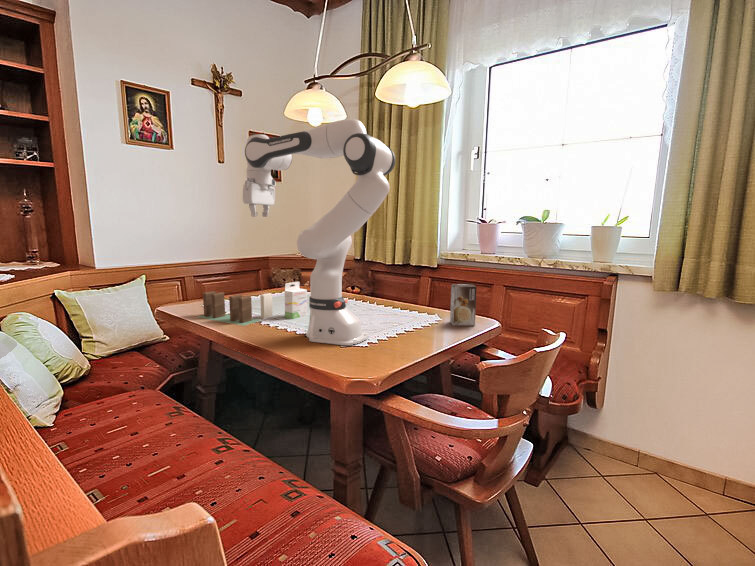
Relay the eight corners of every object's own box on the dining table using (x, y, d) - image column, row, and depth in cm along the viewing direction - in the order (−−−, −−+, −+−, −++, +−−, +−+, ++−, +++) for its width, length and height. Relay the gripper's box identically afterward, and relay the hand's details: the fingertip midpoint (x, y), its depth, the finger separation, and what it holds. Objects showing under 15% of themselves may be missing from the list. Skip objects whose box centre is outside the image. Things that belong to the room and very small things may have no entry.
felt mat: (262, 320, 163) (262, 320, 163) (244, 326, 154) (243, 325, 154) (215, 312, 175) (215, 312, 175) (195, 317, 166) (195, 316, 166)
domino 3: (242, 318, 164) (241, 294, 162) (233, 321, 160) (232, 297, 158) (239, 318, 165) (238, 294, 163) (230, 320, 160) (229, 296, 159)
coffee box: (471, 321, 167) (473, 283, 164) (475, 325, 160) (477, 286, 158) (449, 321, 166) (451, 283, 164) (452, 325, 160) (454, 286, 157)
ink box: (292, 319, 165) (291, 284, 163) (284, 317, 168) (283, 283, 165) (307, 316, 172) (307, 282, 169) (300, 314, 175) (299, 281, 172)
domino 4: (252, 320, 162) (251, 296, 160) (242, 323, 157) (241, 298, 156) (248, 319, 163) (247, 295, 161) (239, 322, 158) (238, 297, 157)
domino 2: (225, 315, 168) (224, 292, 167) (215, 318, 164) (214, 294, 162) (222, 315, 169) (221, 292, 168) (212, 317, 165) (211, 294, 163)
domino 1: (216, 314, 171) (215, 291, 169) (207, 316, 166) (205, 293, 165) (213, 313, 171) (212, 291, 170) (204, 316, 167) (202, 292, 165)
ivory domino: (272, 316, 170) (272, 293, 168) (264, 319, 165) (263, 295, 164) (269, 316, 171) (268, 293, 169) (261, 318, 166) (260, 295, 165)
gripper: (254, 177, 141) (255, 216, 143) (277, 182, 161) (278, 217, 163) (237, 177, 142) (238, 216, 144) (262, 182, 162) (263, 216, 164)
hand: (259, 216), depth 154 cm, fingers open, 8 cm apart
